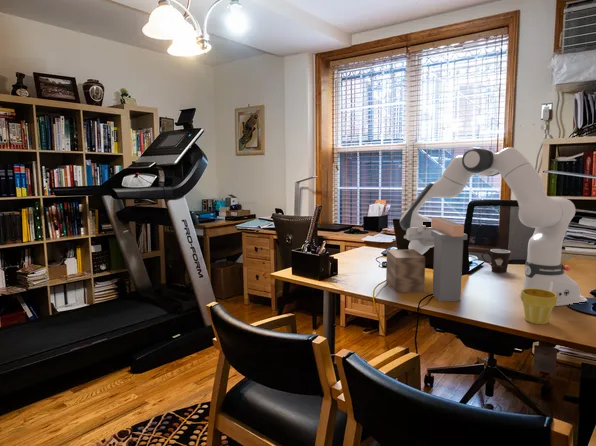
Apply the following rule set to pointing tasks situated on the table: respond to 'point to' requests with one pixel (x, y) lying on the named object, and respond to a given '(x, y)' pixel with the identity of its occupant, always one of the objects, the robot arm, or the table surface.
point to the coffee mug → (498, 260)
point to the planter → (447, 226)
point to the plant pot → (538, 304)
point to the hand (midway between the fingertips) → (435, 226)
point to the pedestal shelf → (447, 266)
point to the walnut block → (405, 270)
